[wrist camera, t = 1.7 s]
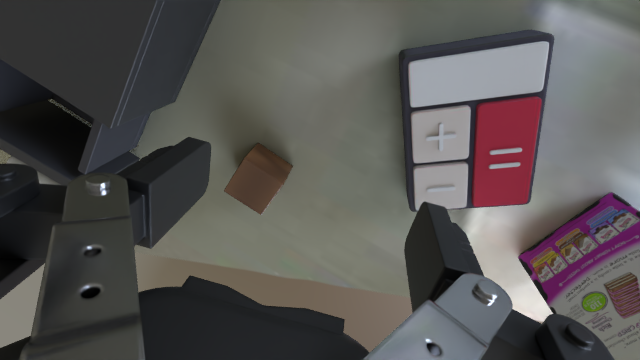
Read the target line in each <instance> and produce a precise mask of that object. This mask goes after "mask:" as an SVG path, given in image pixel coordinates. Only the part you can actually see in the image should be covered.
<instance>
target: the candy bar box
mask: <svg viewBox="0 0 640 360" xmlns="http://www.w3.org/2000/svg"><path fill="white" fill-rule="evenodd" d="M518 259H519V260H520V262H521V264H522V265H523V267H524V269H525V270H526V272H527V273H528V275H529V276H530V278H531V280H532V281H533V283H534V284H535V286H536V288H537V289H538V291H539V292H540V294H541V295H542V297H543V298H544V300H545V301H546V303H547V305H548V306H549V308H550V309H551V311H552V312H553V314H560V315H564V316H567V317H569V318H572V319H574V320H576V321H577V322H579V323H581V324H582V325H584V326H585V327H587V328H588V329H589V330H591V331H592V332H593V333H594V334H595V335H596V336H597V337H598V338H599V339H600V340H601V341H602V342H603V343H604V345H605V346H606V347H607V349H608V350H609V352H610V353H611V355H612V356H613V358H614V360H640V211H639V210H637V209H636V208H634V207H633V206H632V205H630V204H629V203H628V202H626V201H625V200H624V199H622V198H621V197H619V196H618V195H616V194H614V193H609V194H607V195H606V196H604V197H603V198H601V199H600V200H599V201H597V202H596V203H594V204H593V205H591V206H590V207H588V208H587V209H586V210H584V211H583V212H581V213H580V214H579V215H577V216H576V217H574V218H573V219H571V220H570V221H569V222H567V223H566V224H564V225H563V226H562V227H560V228H559V229H557V230H556V231H555V232H553V233H552V234H550V235H549V236H547V237H546V238H545V239H543V240H542V241H540V242H539V243H538V244H536V245H535V246H533V247H532V248H530V249H529V250H528V251H526V252H525V253H523V254H522V255H520V256H519V257H518Z"/></svg>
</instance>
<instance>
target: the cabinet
mask: <svg viewBox="0 0 640 360" xmlns="http://www.w3.org/2000/svg"><path fill="white" fill-rule="evenodd" d="M220 1H221V0H0V59H1V60H3V61H4V62H6V63H8V64H9V65H11V66H12V67H14V68H16V69H17V70H19V71H20V72H22V73H23V74H25V75H27V76H28V77H30V78H31V79H33V80H34V81H36V82H38V83H39V84H41V85H42V86H44V87H45V88H47V89H49V90H50V91H52V92H53V93H55V94H56V95H58V96H60V97H61V98H63V99H64V100H66V101H67V102H69V103H71V104H72V105H74V106H75V107H77V108H78V109H80V110H82V111H83V112H85V113H86V114H88V115H89V116H91V117H93V118H94V119H96V120H97V121H99V122H101V123H102V124H104V125H105V126H107V127H108V128H110V129H111V128H114V127H116V126H119V125H121V124H123V123H126V122H128V121H130V120H133V119H135V118H138V117H140V116H142V115H145V114H147V113H149V112H152V111H154V110H156V109H159V108H161V107H163V106H166V105H168V104H170V103H173V102H175V100H176V98H177V96H178V94H179V92H180V89H181V87H182V85H183V83H184V80H185V78H186V76H187V74H188V72H189V69H190V67H191V65H192V63H193V60H194V58H195V56H196V54H197V52H198V49H199V47H200V45H201V43H202V41H203V38H204V36H205V34H206V32H207V29H208V27H209V25H210V23H211V21H212V18H213V16H214V14H215V12H216V9H217V7H218V5H219V3H220Z"/></svg>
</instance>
